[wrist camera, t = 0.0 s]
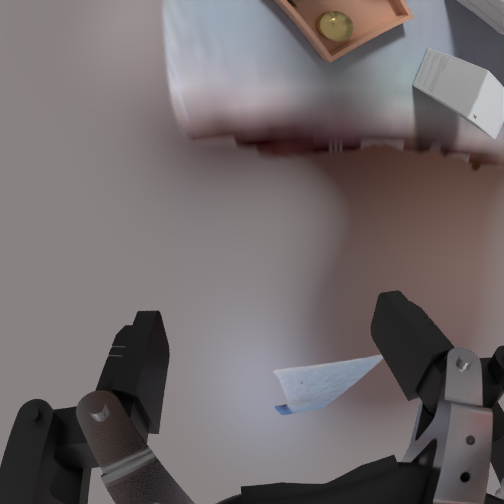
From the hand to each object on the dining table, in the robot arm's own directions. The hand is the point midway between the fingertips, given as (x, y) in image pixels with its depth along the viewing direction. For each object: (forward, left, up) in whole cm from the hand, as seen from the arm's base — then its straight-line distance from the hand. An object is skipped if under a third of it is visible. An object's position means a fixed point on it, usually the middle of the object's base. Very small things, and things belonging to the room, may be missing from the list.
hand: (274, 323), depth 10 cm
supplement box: (+14, +26, -32) cm, 44 cm away
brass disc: (0, +15, -30) cm, 34 cm away
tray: (-4, +18, -31) cm, 37 cm away
